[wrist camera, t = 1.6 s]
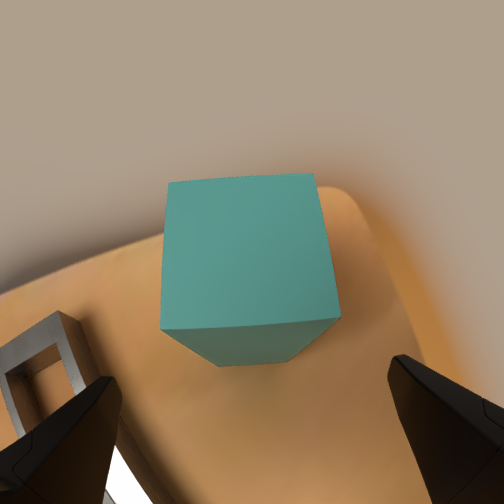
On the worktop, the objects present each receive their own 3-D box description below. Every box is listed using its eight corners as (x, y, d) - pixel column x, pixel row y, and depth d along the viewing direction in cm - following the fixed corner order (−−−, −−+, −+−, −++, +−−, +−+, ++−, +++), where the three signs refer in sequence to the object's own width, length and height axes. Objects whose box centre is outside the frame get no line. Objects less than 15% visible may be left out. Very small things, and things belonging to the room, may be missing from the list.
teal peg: (287, 361, 19) (341, 317, 7) (218, 366, 19) (160, 329, 7) (280, 297, 21) (313, 173, 9) (215, 301, 21) (168, 182, 9)
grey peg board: (223, 558, 12) (218, 579, 10) (137, 578, 11) (124, 595, 8) (78, 320, 20) (57, 309, 17) (14, 360, 18) (-10, 353, 15)
